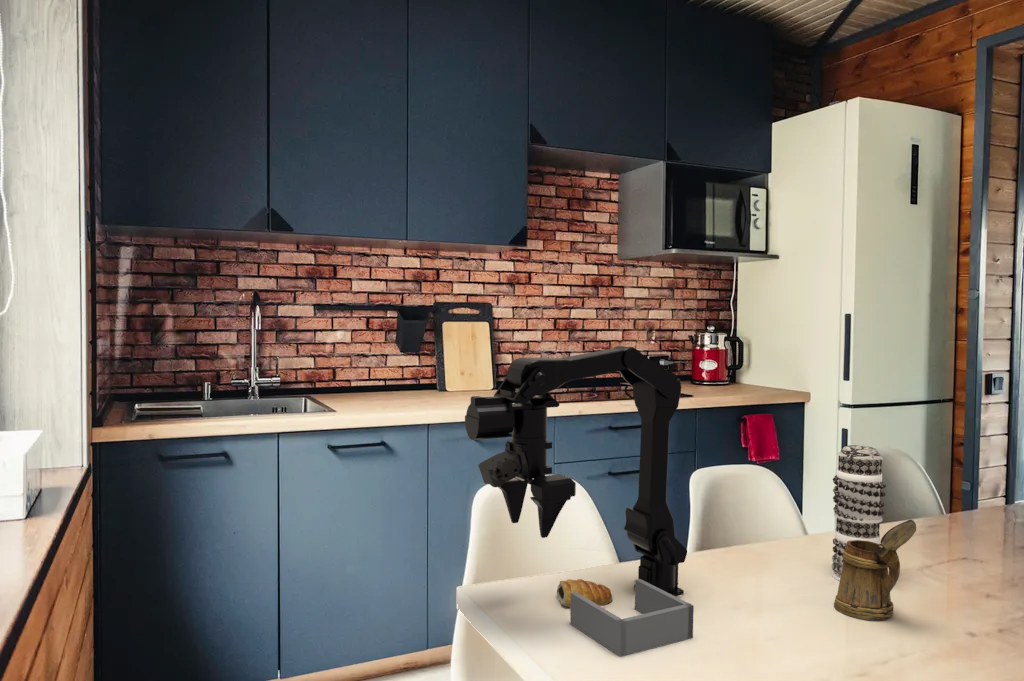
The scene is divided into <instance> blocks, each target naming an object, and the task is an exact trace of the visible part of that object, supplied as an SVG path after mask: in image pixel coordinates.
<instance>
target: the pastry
mask: <svg viewBox="0 0 1024 681" xmlns="http://www.w3.org/2000/svg"><path fill="white" fill-rule="evenodd" d="M573 592H577V593H579V594H580V595H582V596H584V597H585V598H587V599H589V600H591V601H592V602H594V603H596V604H597V605H599V606H601V607H602V606H605V605H607V604H609V603H611V602H612V601H613V594H612V592H611V589H610V588H609V587H608V586H606V585H604V584H601V583H599V584H597V583H596V582H595V581H591V580H590V581H588V580H584V579H582V578H581V579H579V578H578V579H576V580H575V579H567V580H559V583H558V585H557V589H556V594H557V600H558V601H559V602H560V604H561V605H562V606H565V608H566V607H567V608H569V609H570V608H571V593H573Z"/></svg>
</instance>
